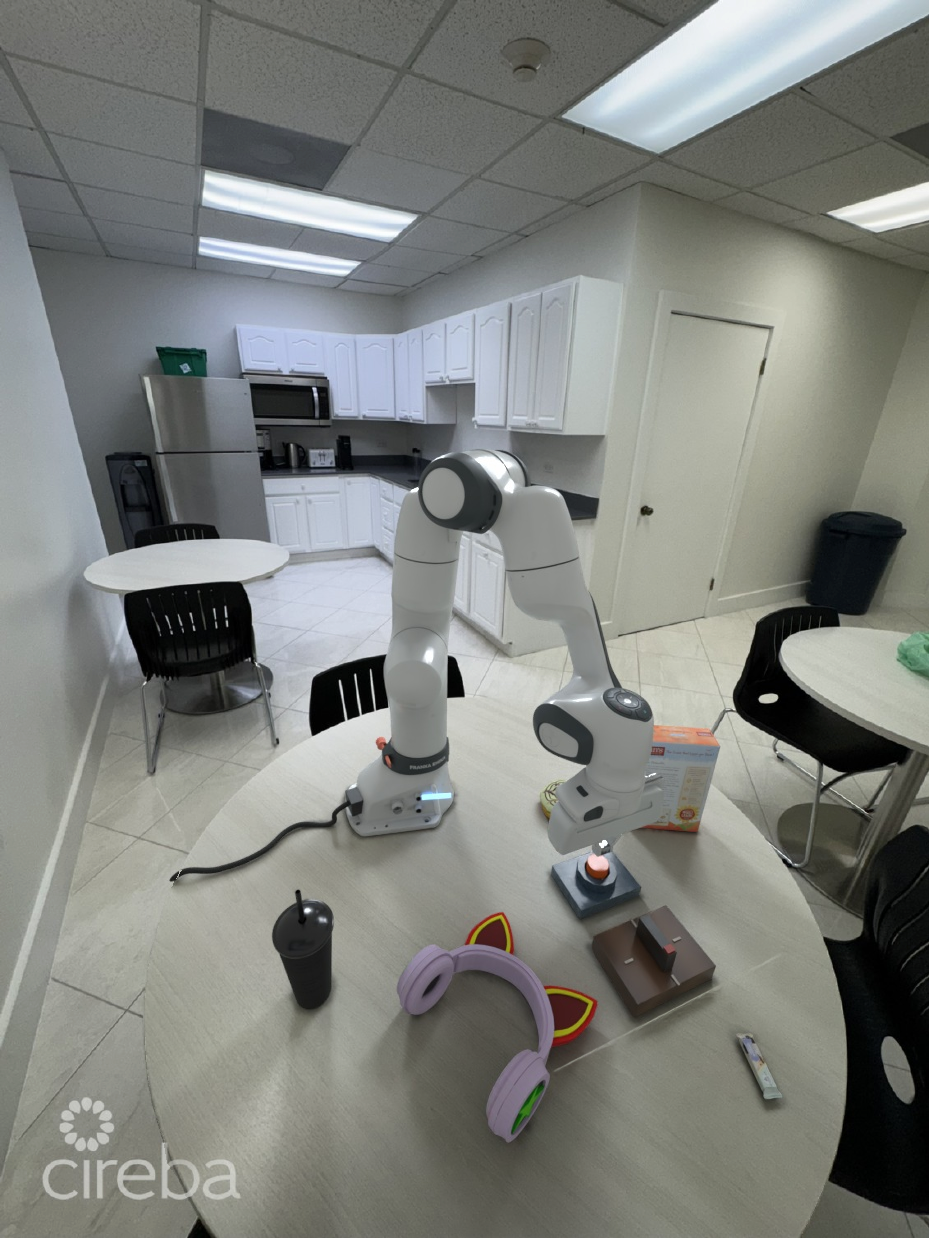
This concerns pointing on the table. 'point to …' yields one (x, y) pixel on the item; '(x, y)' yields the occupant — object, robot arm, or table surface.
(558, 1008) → the headphones
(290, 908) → the drinking cup
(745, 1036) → the granola bar
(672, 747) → the cracker box
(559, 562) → the robot arm
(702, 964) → the panel
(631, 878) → the button box
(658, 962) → the handle
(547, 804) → the decorated donut
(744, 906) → the table surface
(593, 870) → the button
